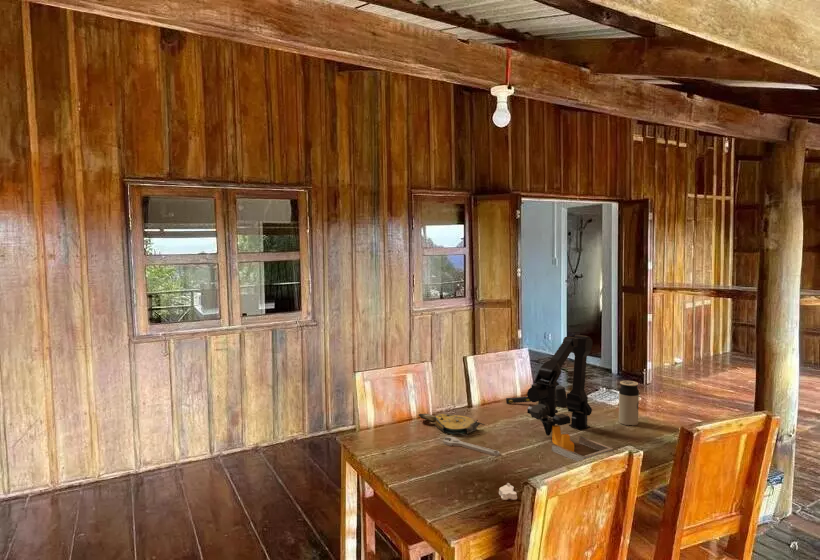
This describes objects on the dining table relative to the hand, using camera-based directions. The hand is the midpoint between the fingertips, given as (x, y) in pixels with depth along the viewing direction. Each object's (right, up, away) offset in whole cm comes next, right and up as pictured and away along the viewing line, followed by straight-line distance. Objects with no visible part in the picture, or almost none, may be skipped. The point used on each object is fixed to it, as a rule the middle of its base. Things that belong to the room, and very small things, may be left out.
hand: (548, 435), depth 219 cm
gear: (-25, -6, -48) cm, 54 cm away
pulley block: (-40, -1, +15) cm, 42 cm away
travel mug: (+40, 0, +19) cm, 44 cm away
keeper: (+9, -2, -14) cm, 17 cm away
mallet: (+6, +1, +47) cm, 47 cm away
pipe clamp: (+4, -2, -8) cm, 9 cm away
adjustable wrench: (-33, -3, -9) cm, 34 cm away
